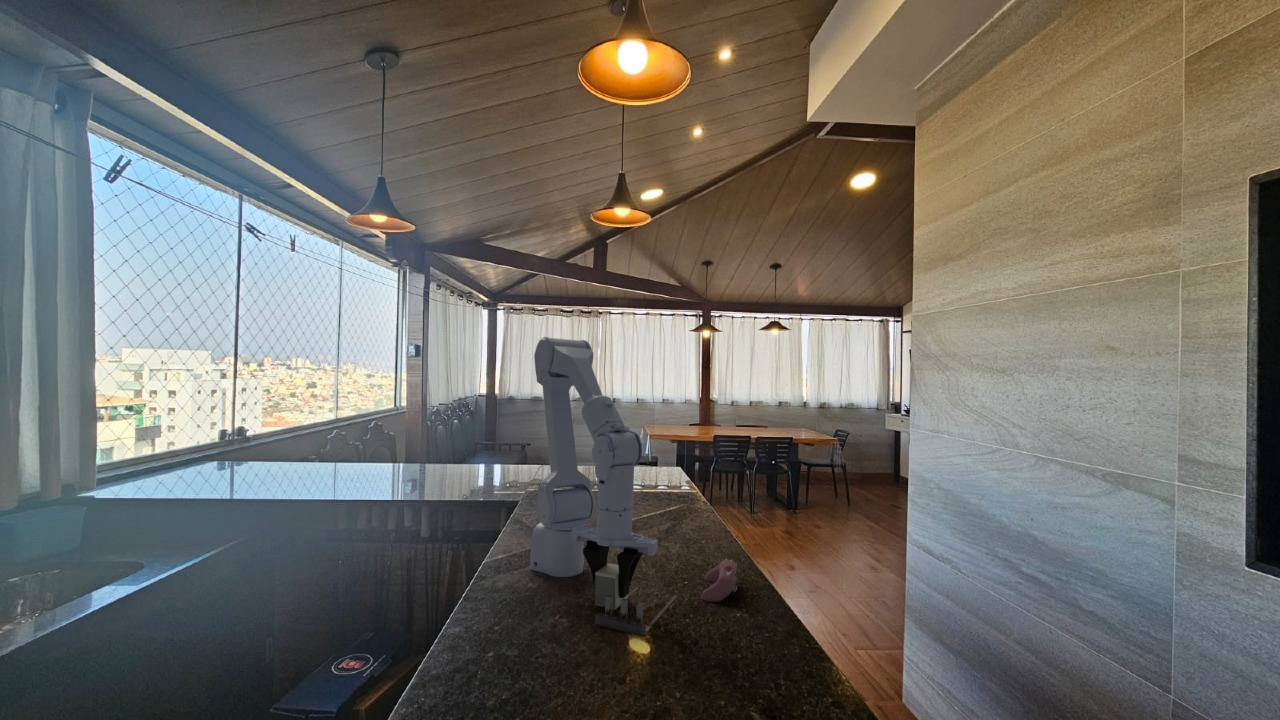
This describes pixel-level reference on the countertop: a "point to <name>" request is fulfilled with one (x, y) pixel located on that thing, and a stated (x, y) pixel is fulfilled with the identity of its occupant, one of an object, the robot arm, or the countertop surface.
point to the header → (622, 618)
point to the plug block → (607, 585)
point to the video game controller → (721, 581)
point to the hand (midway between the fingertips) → (611, 592)
